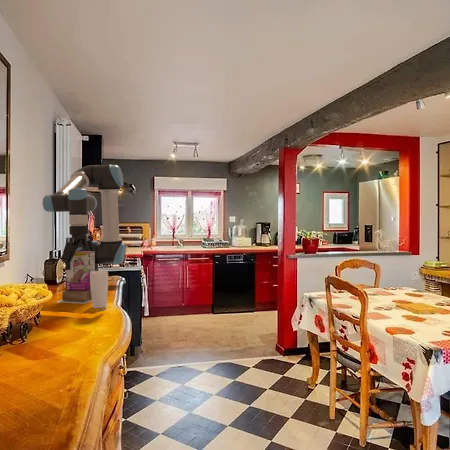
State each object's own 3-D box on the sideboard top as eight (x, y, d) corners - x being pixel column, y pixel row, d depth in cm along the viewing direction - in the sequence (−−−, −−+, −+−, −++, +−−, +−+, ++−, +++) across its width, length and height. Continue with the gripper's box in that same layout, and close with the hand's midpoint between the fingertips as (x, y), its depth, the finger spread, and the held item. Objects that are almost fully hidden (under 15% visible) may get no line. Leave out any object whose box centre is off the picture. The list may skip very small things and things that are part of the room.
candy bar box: (65, 290, 162) (64, 251, 162) (71, 288, 167) (70, 250, 167) (90, 291, 161) (89, 251, 160) (95, 288, 166) (95, 250, 165)
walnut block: (77, 296, 170) (77, 287, 170) (97, 297, 168) (97, 288, 168) (62, 301, 161) (62, 291, 161) (83, 302, 158) (83, 292, 158)
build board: (76, 298, 173) (76, 294, 173) (104, 299, 169) (104, 296, 169) (55, 305, 159) (55, 301, 159) (84, 307, 156) (84, 303, 156)
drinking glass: (89, 309, 152) (88, 271, 151) (107, 307, 155) (106, 270, 154) (91, 313, 146) (91, 273, 145) (110, 310, 149) (109, 272, 148)
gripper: (89, 224, 177) (90, 270, 177) (50, 226, 153) (52, 279, 153) (103, 224, 175) (104, 270, 175) (66, 226, 150) (68, 280, 151)
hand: (80, 275), depth 164 cm, fingers open, 13 cm apart
